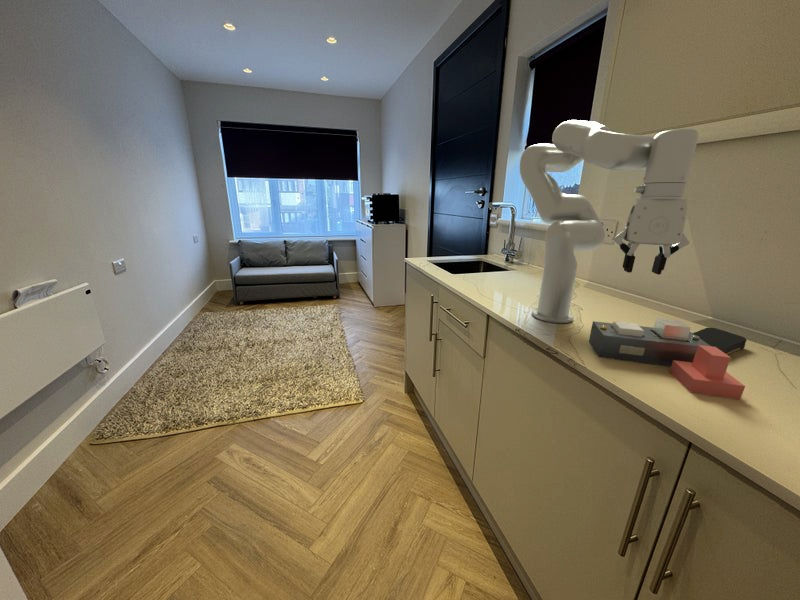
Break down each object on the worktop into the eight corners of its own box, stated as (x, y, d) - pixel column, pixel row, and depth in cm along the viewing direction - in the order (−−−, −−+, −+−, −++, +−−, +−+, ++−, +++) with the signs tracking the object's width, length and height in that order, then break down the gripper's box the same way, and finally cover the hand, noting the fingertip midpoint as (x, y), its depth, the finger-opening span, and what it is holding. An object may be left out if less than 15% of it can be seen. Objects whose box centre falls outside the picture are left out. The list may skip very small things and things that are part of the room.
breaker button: (610, 335, 84) (613, 321, 83) (632, 337, 83) (635, 323, 82) (616, 342, 80) (620, 328, 78) (639, 345, 78) (643, 330, 77)
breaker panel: (588, 341, 89) (595, 309, 86) (682, 352, 83) (693, 318, 80) (599, 357, 79) (607, 322, 76) (706, 371, 73) (719, 334, 70)
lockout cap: (669, 371, 73) (679, 340, 71) (714, 377, 71) (725, 345, 68) (689, 391, 65) (701, 357, 63) (740, 399, 63) (754, 363, 61)
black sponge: (706, 337, 93) (710, 326, 91) (745, 349, 85) (750, 337, 84) (676, 348, 86) (680, 335, 85) (716, 362, 79) (721, 348, 77)
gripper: (623, 191, 69) (605, 273, 75) (719, 192, 65) (693, 278, 70) (612, 192, 76) (597, 266, 82) (698, 193, 71) (676, 271, 77)
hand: (641, 271), depth 76 cm, fingers open, 5 cm apart
